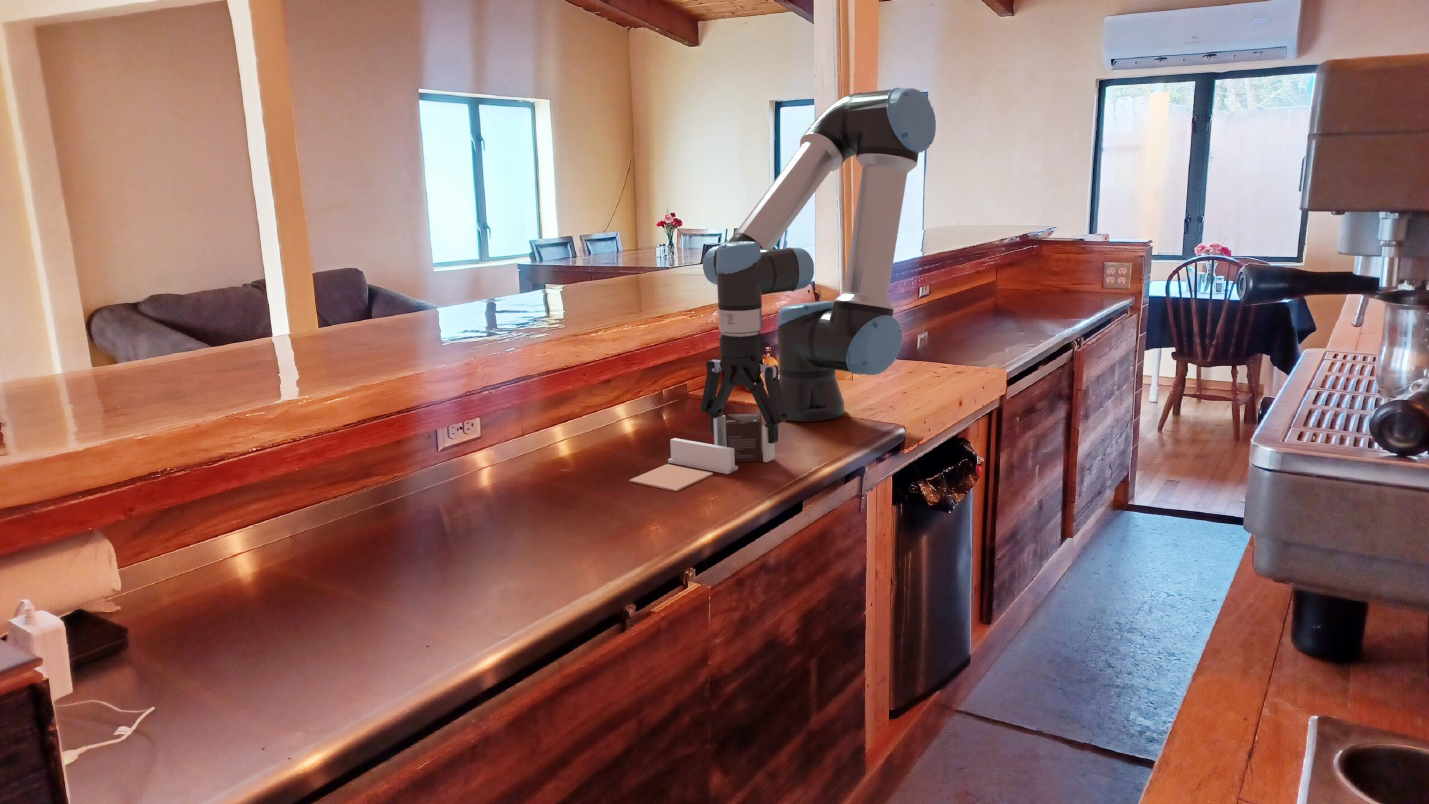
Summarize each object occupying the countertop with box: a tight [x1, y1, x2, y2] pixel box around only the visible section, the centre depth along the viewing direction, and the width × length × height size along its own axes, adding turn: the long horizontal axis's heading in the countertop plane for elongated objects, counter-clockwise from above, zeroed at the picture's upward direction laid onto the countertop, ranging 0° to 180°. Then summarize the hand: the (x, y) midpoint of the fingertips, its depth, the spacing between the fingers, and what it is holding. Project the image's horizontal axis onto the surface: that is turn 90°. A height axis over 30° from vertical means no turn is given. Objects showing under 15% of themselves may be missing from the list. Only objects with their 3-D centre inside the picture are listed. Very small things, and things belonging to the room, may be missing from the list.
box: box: [726, 413, 763, 462], centre depth 168 cm, size 6×6×7 cm
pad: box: [628, 463, 714, 492], centre depth 159 cm, size 10×10×1 cm
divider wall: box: [667, 437, 739, 475], centre depth 164 cm, size 3×13×4 cm, turn 54°
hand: (744, 455), depth 169 cm, fingers open, 10 cm apart
